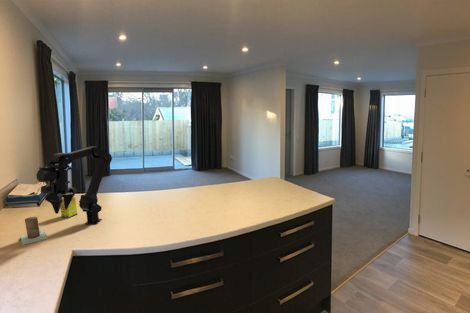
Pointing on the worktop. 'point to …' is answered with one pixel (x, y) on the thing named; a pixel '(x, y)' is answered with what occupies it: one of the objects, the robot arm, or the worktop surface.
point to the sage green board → (26, 240)
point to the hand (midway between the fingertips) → (61, 211)
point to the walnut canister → (32, 227)
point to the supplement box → (69, 209)
